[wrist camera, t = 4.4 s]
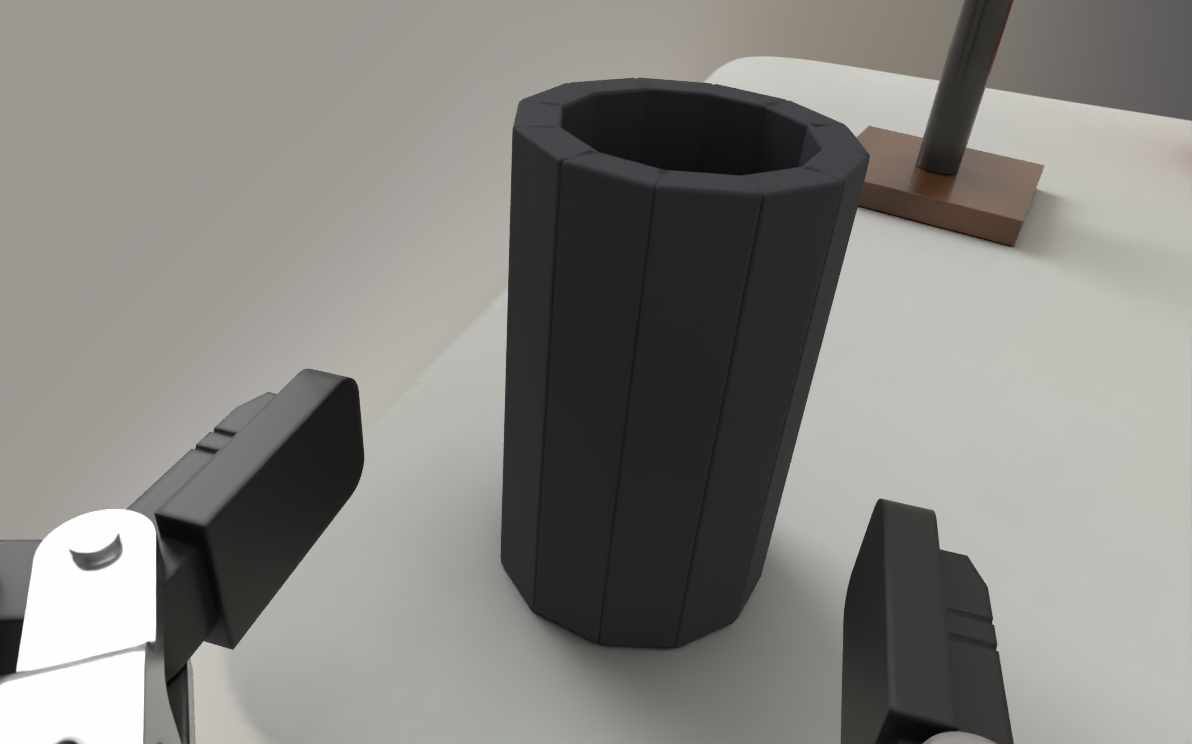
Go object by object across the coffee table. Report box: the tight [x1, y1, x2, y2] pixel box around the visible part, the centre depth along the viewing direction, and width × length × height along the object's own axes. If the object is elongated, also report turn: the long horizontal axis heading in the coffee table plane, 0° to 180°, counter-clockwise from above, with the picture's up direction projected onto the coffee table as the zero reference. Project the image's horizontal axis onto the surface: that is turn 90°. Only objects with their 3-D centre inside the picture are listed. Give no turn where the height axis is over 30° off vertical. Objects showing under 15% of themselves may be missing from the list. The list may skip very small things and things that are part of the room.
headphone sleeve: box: [501, 78, 870, 648], centre depth 18 cm, size 6×6×10 cm
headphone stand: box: [856, 0, 1044, 246], centre depth 39 cm, size 9×9×12 cm
